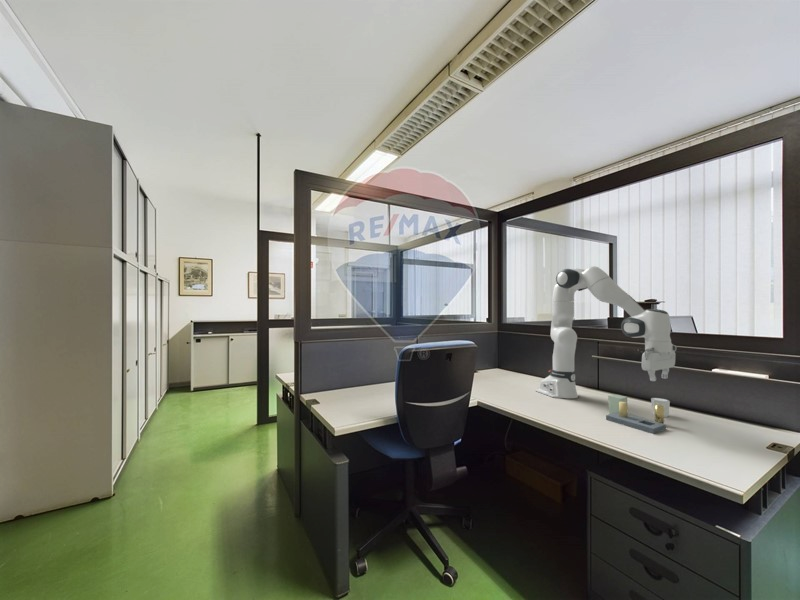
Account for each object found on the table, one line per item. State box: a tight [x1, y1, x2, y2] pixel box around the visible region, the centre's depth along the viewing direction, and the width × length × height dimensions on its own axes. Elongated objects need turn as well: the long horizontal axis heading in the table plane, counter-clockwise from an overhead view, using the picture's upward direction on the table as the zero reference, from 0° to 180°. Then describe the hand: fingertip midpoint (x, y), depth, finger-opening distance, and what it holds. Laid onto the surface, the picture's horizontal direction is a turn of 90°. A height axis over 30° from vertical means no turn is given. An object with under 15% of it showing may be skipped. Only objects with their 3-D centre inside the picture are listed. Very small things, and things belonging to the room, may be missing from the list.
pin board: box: [605, 402, 667, 435], centre depth 137 cm, size 18×10×8 cm, turn 28°
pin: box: [654, 405, 665, 424], centre depth 137 cm, size 3×3×8 cm
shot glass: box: [650, 397, 671, 418], centre depth 149 cm, size 7×7×7 cm
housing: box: [608, 394, 628, 414], centre depth 151 cm, size 5×5×8 cm
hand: (658, 379), depth 137 cm, fingers open, 8 cm apart
